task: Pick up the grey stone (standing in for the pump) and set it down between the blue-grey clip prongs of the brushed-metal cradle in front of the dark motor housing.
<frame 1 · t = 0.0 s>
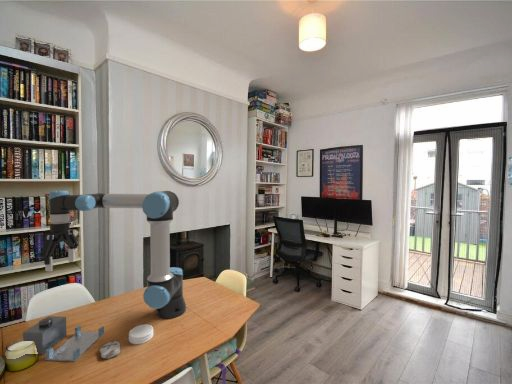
hand: (60, 266, 123), 28 cm above the table, fingers open, 13 cm apart
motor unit: (72, 345, 107), on the table
coaster: (141, 338, 113), on the table
stone: (110, 353, 103), on the table
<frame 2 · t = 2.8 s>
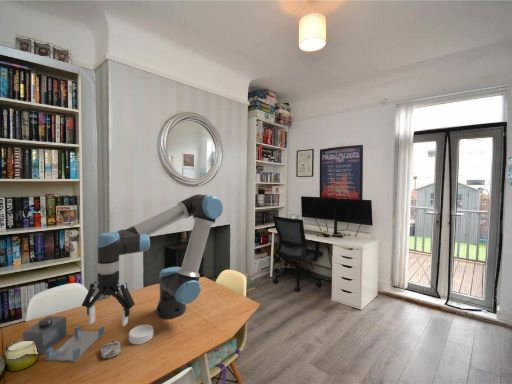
hand: (108, 323, 102), 12 cm above the table, fingers open, 13 cm apart
nothing on the table moved.
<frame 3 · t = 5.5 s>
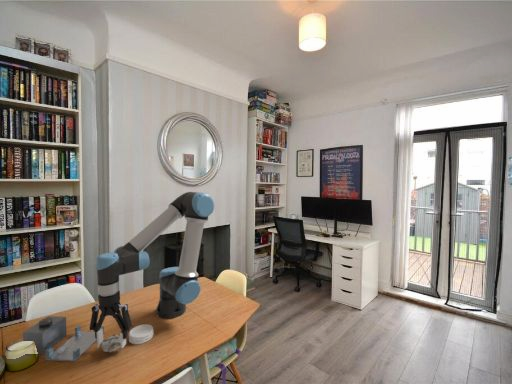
hand: (111, 345, 104), 2 cm above the table, fingers closed on stone, 9 cm apart
stone: (111, 346, 104), point 2 cm above the table, touching gripper
everything else where it was.
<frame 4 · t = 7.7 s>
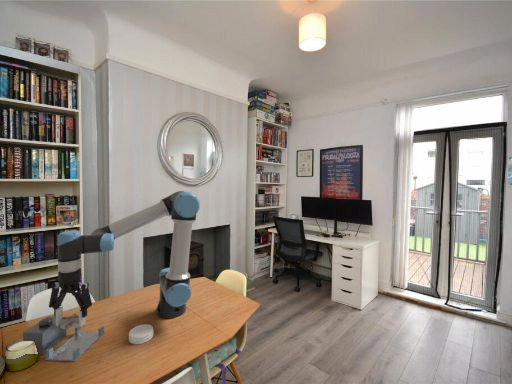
hand: (70, 324, 103), 11 cm above the table, fingers closed on stone, 9 cm apart
stone: (70, 325, 103), point 11 cm above the table, touching gripper
everything else where it was.
when the fingers open (2 cm above the table, at t = 10.1 s): stone drops 1 cm, resting on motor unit.
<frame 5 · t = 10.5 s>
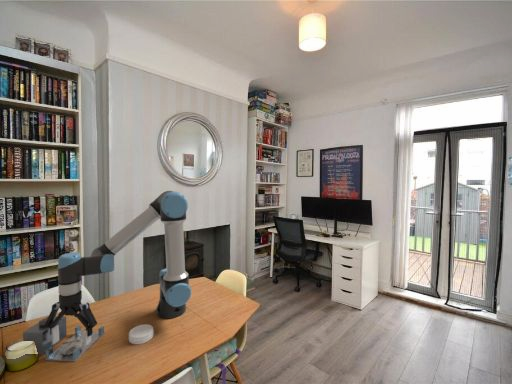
hand: (71, 342, 104), 3 cm above the table, fingers open, 13 cm apart
stone: (71, 349, 104), resting on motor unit
everything else where it was.
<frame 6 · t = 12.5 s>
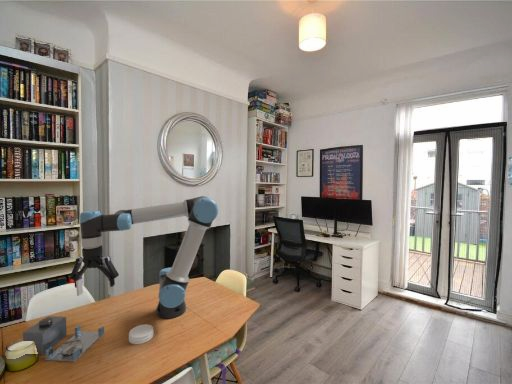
hand: (95, 294, 111), 20 cm above the table, fingers open, 13 cm apart
nothing on the table moved.
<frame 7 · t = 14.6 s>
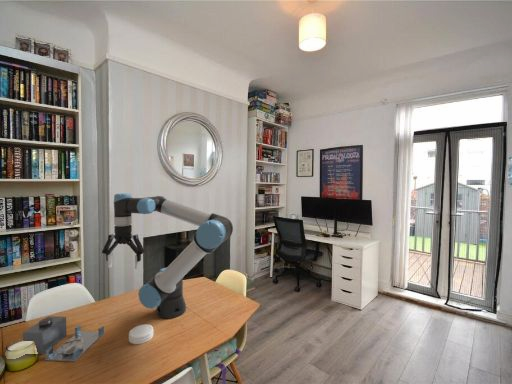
hand: (123, 267, 125), 27 cm above the table, fingers open, 13 cm apart
nothing on the table moved.
at the end: stone inside the target area on the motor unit (2.7 cm from its centre), point 0.4 cm above the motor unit's base; stone touching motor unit; the gripper is holding nothing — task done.
